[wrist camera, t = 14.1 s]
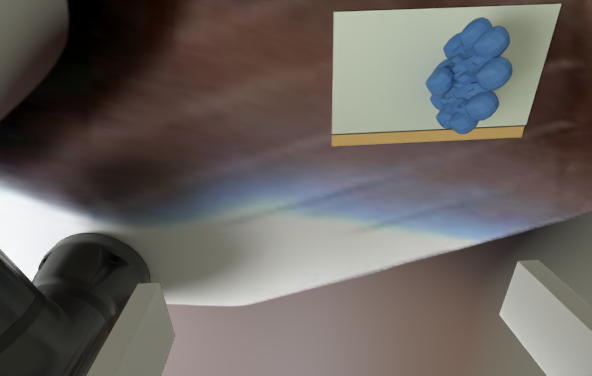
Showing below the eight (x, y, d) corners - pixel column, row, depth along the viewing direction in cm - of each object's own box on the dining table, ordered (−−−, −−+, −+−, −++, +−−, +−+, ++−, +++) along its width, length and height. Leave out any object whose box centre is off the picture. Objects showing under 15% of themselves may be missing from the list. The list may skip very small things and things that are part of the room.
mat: (331, 132, 42) (332, 134, 41) (333, 12, 36) (334, 11, 35) (523, 123, 42) (526, 124, 42) (558, 4, 36) (561, 3, 36)
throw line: (331, 145, 43) (331, 146, 42) (331, 134, 42) (332, 135, 42) (519, 136, 43) (521, 137, 43) (523, 125, 43) (524, 126, 42)
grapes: (410, 21, 36) (466, 16, 25) (468, 18, 36) (549, 12, 25) (400, 122, 41) (443, 154, 30) (451, 119, 41) (512, 149, 30)
